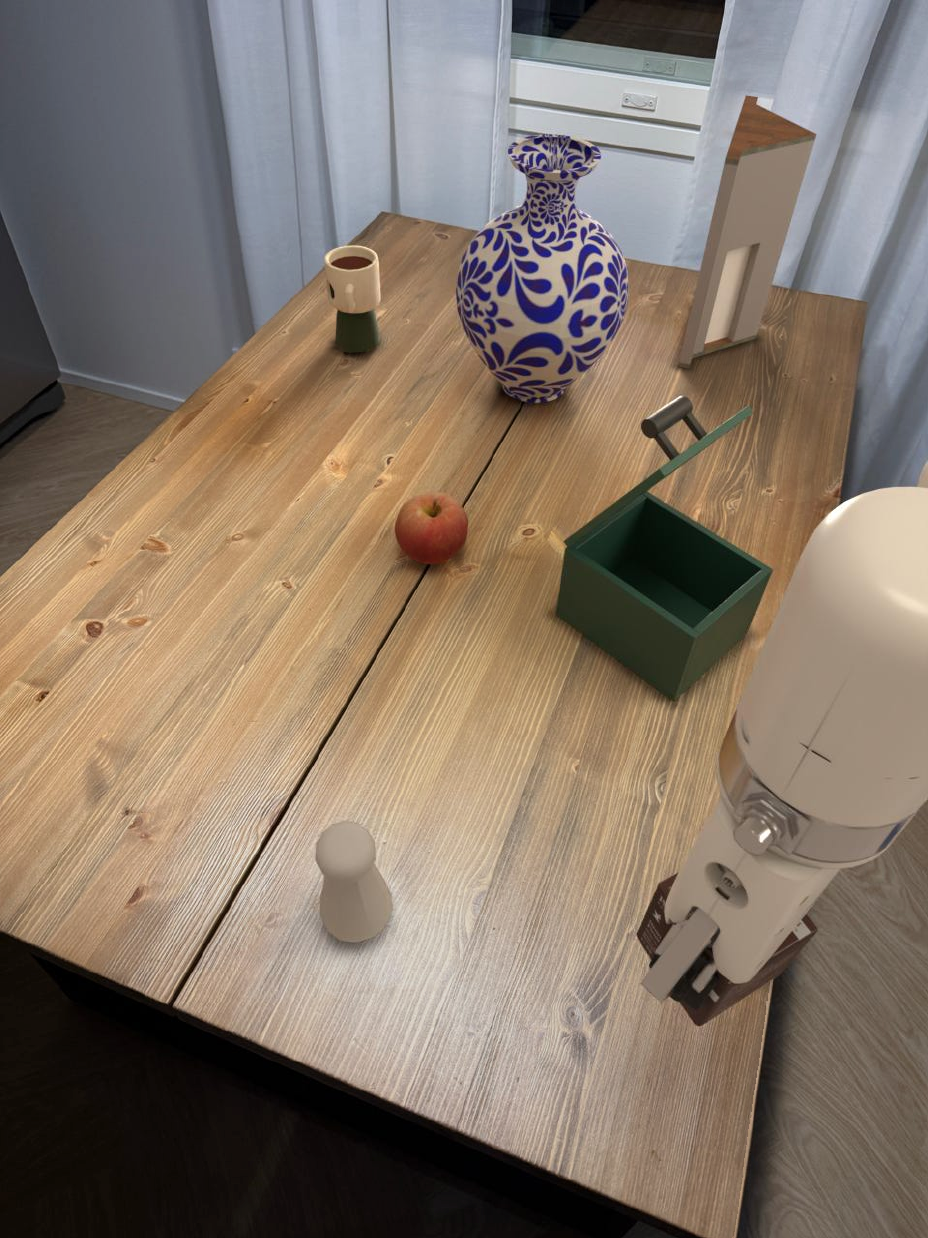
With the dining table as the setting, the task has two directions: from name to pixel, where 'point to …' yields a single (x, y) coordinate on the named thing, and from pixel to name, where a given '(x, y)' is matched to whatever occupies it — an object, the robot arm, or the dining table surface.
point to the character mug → (354, 296)
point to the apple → (431, 527)
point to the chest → (660, 593)
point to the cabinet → (746, 229)
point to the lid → (655, 429)
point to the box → (724, 989)
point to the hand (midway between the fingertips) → (718, 934)
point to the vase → (543, 277)
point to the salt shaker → (351, 883)
